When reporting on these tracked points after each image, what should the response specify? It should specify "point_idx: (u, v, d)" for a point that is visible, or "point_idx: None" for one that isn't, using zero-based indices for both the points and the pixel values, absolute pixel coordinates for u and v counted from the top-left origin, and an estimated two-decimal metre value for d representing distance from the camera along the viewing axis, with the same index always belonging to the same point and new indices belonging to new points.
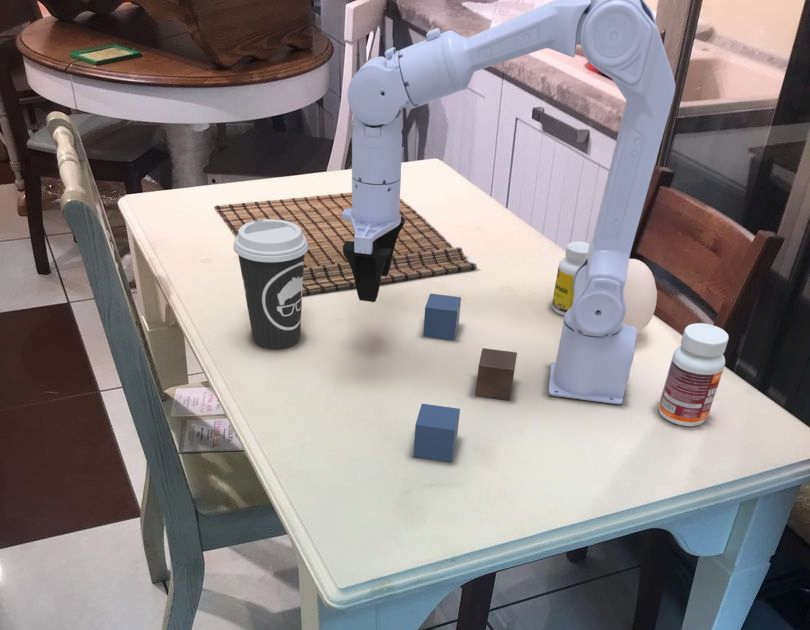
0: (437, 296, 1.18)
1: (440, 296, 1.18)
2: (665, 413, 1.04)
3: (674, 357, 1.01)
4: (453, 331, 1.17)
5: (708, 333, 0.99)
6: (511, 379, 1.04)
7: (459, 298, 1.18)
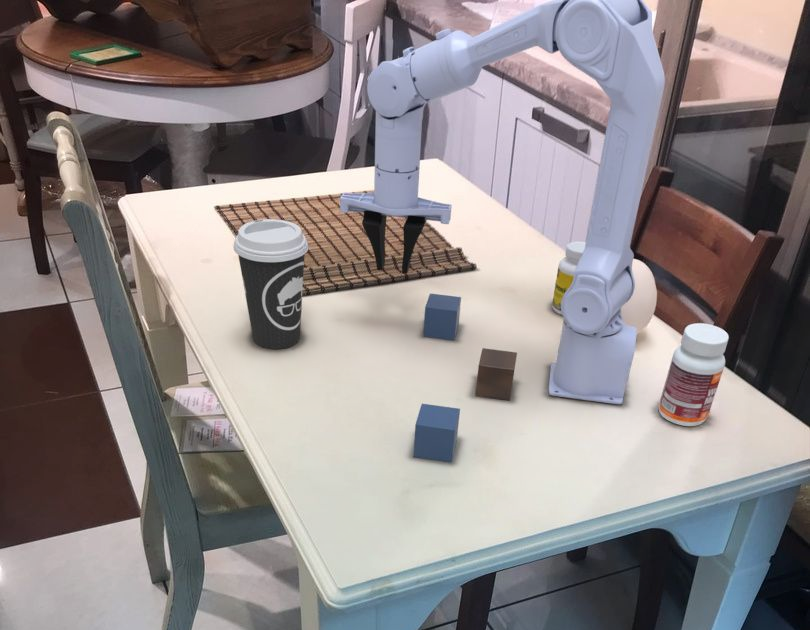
0: (437, 296, 1.18)
1: (440, 296, 1.18)
2: (665, 413, 1.04)
3: (674, 357, 1.01)
4: (453, 331, 1.17)
5: (708, 333, 0.99)
6: (511, 379, 1.04)
7: (459, 298, 1.18)
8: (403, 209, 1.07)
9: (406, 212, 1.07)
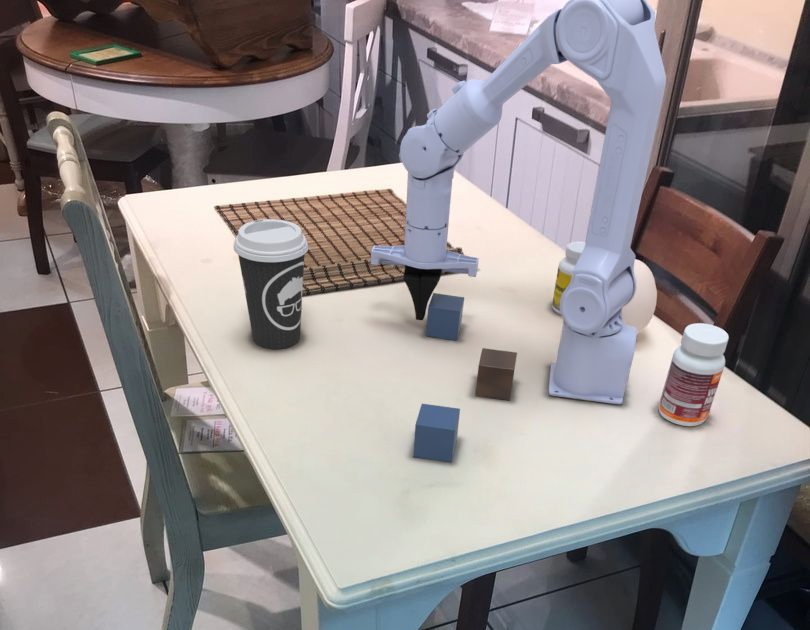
0: (441, 296, 1.18)
1: (443, 296, 1.18)
2: (665, 413, 1.04)
3: (674, 357, 1.01)
4: (456, 331, 1.17)
5: (708, 333, 0.99)
6: (511, 379, 1.04)
7: (462, 298, 1.18)
8: (432, 263, 1.11)
9: (435, 266, 1.11)
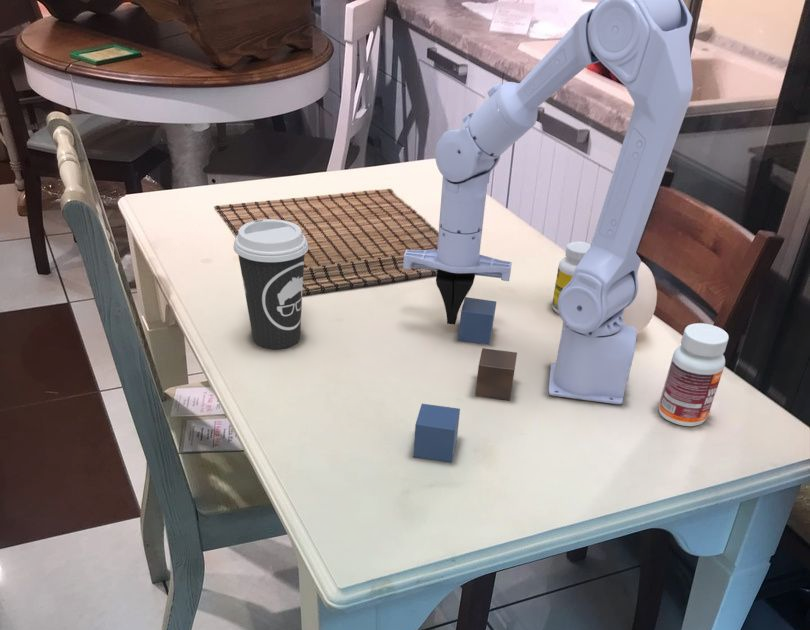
0: (473, 300, 1.17)
1: (475, 300, 1.17)
2: (665, 413, 1.04)
3: (674, 357, 1.01)
4: (488, 335, 1.16)
5: (708, 333, 0.99)
6: (511, 379, 1.04)
7: (494, 302, 1.17)
8: (466, 267, 1.10)
9: (469, 270, 1.10)
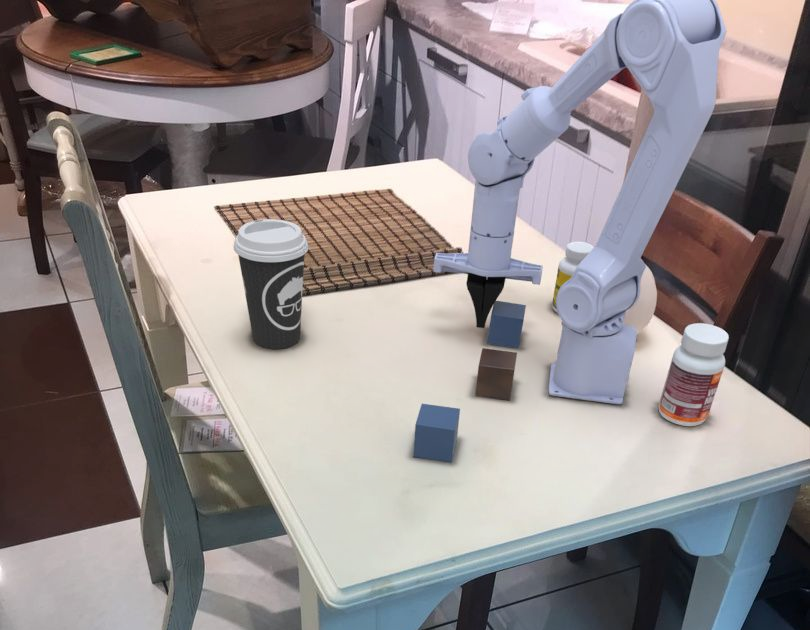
0: (502, 303, 1.17)
1: (505, 303, 1.17)
2: (665, 413, 1.04)
3: (674, 357, 1.01)
4: (518, 339, 1.16)
5: (708, 333, 0.99)
6: (511, 379, 1.04)
7: (524, 306, 1.17)
8: (497, 271, 1.10)
9: (500, 274, 1.10)
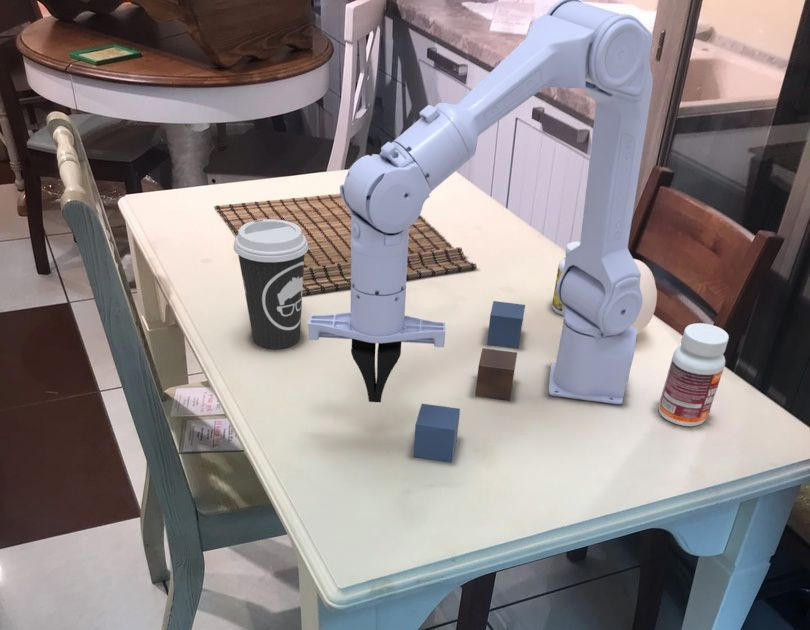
0: (501, 304, 1.17)
1: (504, 304, 1.17)
2: (665, 413, 1.04)
3: (674, 357, 1.01)
4: (518, 339, 1.16)
5: (708, 333, 0.99)
6: (511, 379, 1.04)
7: (523, 306, 1.17)
8: (390, 335, 0.87)
9: (394, 338, 0.87)
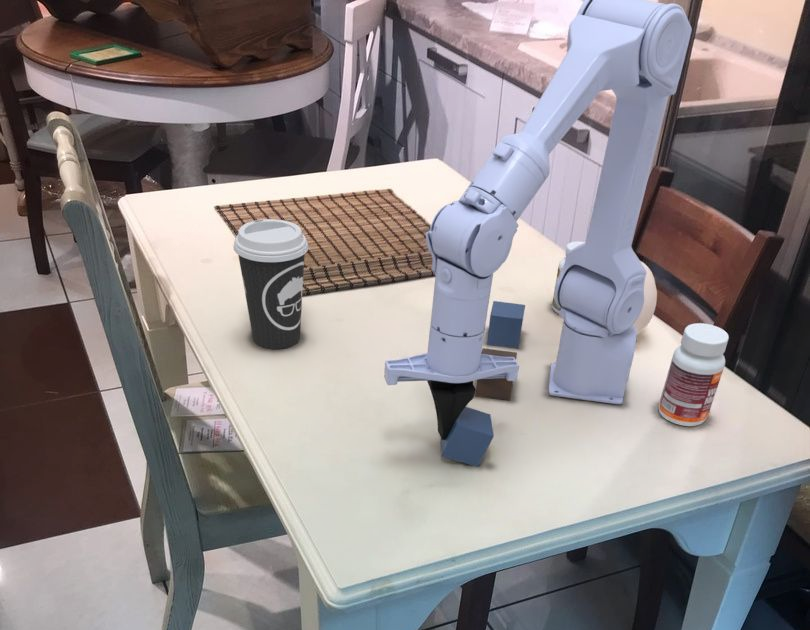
0: (501, 304, 1.17)
1: (504, 304, 1.17)
2: (665, 413, 1.04)
3: (674, 357, 1.01)
4: (518, 339, 1.16)
5: (708, 333, 0.99)
6: None
7: (523, 306, 1.17)
8: (472, 374, 0.88)
9: (475, 377, 0.88)
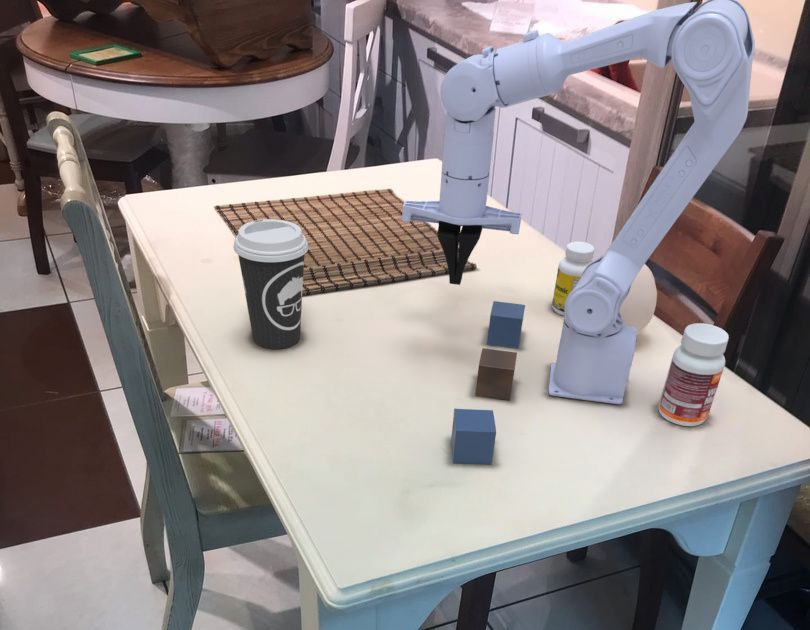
0: (501, 304, 1.17)
1: (504, 304, 1.17)
2: (665, 413, 1.04)
3: (674, 357, 1.01)
4: (518, 339, 1.16)
5: (708, 333, 0.99)
6: (511, 379, 1.04)
7: (523, 306, 1.17)
8: (471, 218, 1.00)
9: (474, 221, 1.00)
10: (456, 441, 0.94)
